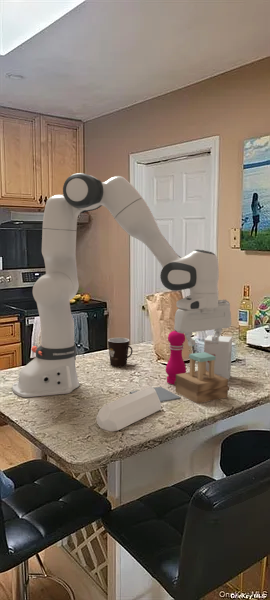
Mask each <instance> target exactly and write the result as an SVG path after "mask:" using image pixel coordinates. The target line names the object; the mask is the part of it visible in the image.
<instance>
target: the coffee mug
mask: <svg viewBox="0 0 270 600" xmlns="http://www.w3.org/2000/svg"><path fill="white" fill-rule="evenodd" d="M107 345H108V346H107V348H108V353H109V354H108V355H109V363H110V366H112V367H116V368H117V367H118V368H121V367H126V366H127V365H128V364H127V362H128V359H129V358H130V357H131V356H132V355H133V352H134V351H133V348H132V346H131V345H130V339H129V338H127V337H111V338H108V339H107ZM129 349H130V354H129Z"/></svg>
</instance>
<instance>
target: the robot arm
mask: <svg viewBox="0 0 270 600" xmlns="http://www.w3.org/2000/svg"><path fill="white" fill-rule="evenodd" d="M45 203H46V204H45V206H44V212H43V219H42V231H41V232H42V233H41V234H42V235H41V238H42V239H41V254H42V257H43V260H44V266H45V267H44V268H45V274H43V275H41V276H40V277H39V278H38V279H37V280H36V281H35V283H34V285H33V287H32V296H33V299H34V301H35V302H36V306H37V311H38V315H39V316H38V317H39V320H40V341H41V343H40V345H39V346H38V347H37V346H36V345H33V346H32V347H31V352H33V353H35V357H33V359H32V360H31V361H29V362H28V363H27V364H26V365H24V366H23V367H22V368H21V369H20V371H19V374H18V381H16V382H14V383H12V385H11V390H12V392H13V393H14V394H15V395H17V396H19V397H23V398H31V397H33V398H34V397H40V396H41V397H43V396H53V395H55V396H56V395H64V394H70V393H72V392H73V390H75V389H77V388H78V387H80V385H81V384H80V382H79V381H80V380H79V378H78V372H77V368H76V360H77V358H76V357H77V347H76V344H75V321H74V319H73V315H72V310H71V303H70V301H71V300H73V299H74V298H75V297H76V296H77V294H78V291H79V286H80V283H79V279H78V267H77V266H78V265H77V257H76V255H77V254H76V251H77V247H76V246H77V227H78V218H79V215H80V214H83V213H88V212H91V211H95V210H98V209H100V208H101V207H104V208H106V210H108V211H109V213H110V214H111V216H112V218H113V219H114V220H115V221H116V223H117V224H118V226H120V228H121V229H122V230H123V231H125V232H126V233H127V235H128V236H130V237H132V238H135V239H136V240H138V241H140V242H141V243H142V244H144V245H145V246H146V247H147V249H149V250H150V252H151V253H152V255H153V256H154V257H155V258H156V260H157V261H158V262H159V264H160V266H161V271H160V282H161V283H162V285H163V286H164V288H165V289H167V290H169V291H173V292H180V291H183V290H187V289H189V295H187V296H185V297H184V298H181V299H178V300H177V301H176V305H175V306H176V308H177V310H176V311H175V314H174V328H175V330H176V331H177V332H179V333H184V335H185V339H186V340H187V345H188V346H189V347H194V346H195V345H196V344H195V342H196V340H195V339H193V338H192V336H193V333H197V332H205V331H212V330H213V331H214V337H212V342H214V343H217V342H219V336H221V334H222V331H223V329H229V328H230V327H231V325H232V314H231V303H230V302H229V301H228V300H227V299H219V289H218V282H219V277H220V274H219V273H220V271H219V261H218V260H219V259H218V256H217V255H216V254H215V253H214V252H212V251H209V250H203V249H193V250H192V251H191V252H189V253H188V254H186V255H184V256H182V257H181V256H180V255H179V254H178V253H176V251H175V250H174V248H173V247H172V246H171V244H170V243H169V242H168V240H167V239H166V238H165V236H164V235H163V234H162V232H161V230H160V229H159V226H158V223H157V222H156V221H157V220H155V217H154V215H153V213H152V211H151V209H150V207H149V206H148V204H147V202H146V201H145V199H144V198H143V197H142V195H141V194H140V192H139V191H138V190H137V189H136V188H135V186H133V184H132V183H130V181H128V180H127V179H126V178H125V177H124V176H121V175H115V176H112V177H110V178H109V179H107V180H105V181H101V180H100V179H98V178H97V177H95V176H93V175H91V174H87V173H83V172H79V173H77V172H76V173H73V174H71V175H70V176H68V177H67V178H66V179H65V181H64V183H63V186H62V194H55V195H52V196H50V197H49V198H48V199H47V200H46V202H45ZM175 330H174V331H175Z"/></svg>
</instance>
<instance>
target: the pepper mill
mask: <svg viewBox="0 0 270 600" xmlns="http://www.w3.org/2000/svg"><path fill="white" fill-rule="evenodd" d="M167 340H168V343H169V344H168V345H169V347H168V348H169V349H170V355H169V359H168V361H167V364H166V366H165V373H166V374H167V377H166V382H167V383H168V384H170V385H174V386H176V385H175V381H176V374H182V373H187V367H186V363H185V362H184V358H183V353H182V352H183V349H184V347H185V345H184V342H185V341H186V336H185V333H179V332H177V331H176V330H175V327H174V328H173V330H172V331H170V332H169V334H168V336H167Z"/></svg>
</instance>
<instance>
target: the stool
mask: <svg viewBox="0 0 270 600" xmlns="http://www.w3.org/2000/svg"><path fill="white" fill-rule="evenodd" d="M188 358H189V372H190V376H191V377H193V376H195V371H196V362H197V371H198V380H203V375H205V374H206V361H209V378H214V362H215V359H216V356H214V355H211V354H208V353H205V352H204V351H202V352H194V353H189V354H188Z"/></svg>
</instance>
